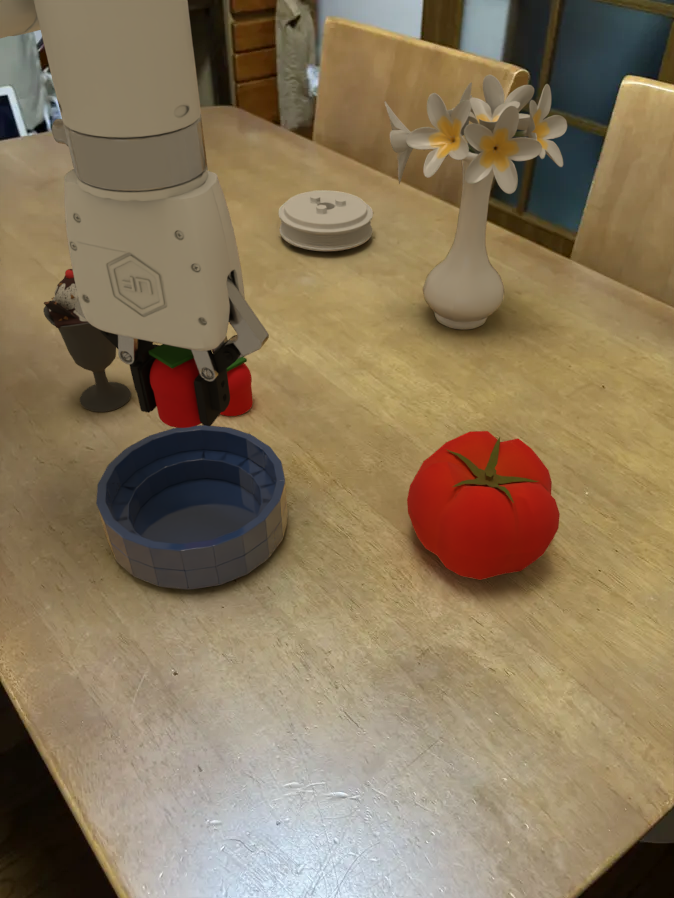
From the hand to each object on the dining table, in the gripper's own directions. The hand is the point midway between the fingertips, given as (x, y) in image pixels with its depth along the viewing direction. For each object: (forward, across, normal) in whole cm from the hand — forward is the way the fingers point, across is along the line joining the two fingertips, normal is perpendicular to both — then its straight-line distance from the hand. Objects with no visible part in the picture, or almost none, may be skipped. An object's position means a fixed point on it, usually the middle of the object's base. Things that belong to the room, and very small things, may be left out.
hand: (184, 406), depth 56 cm
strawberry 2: (+11, -4, +15) cm, 19 cm away
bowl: (+11, 0, -1) cm, 11 cm away
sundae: (+11, -17, +12) cm, 23 cm away
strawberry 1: (+1, 0, 0) cm, 1 cm away
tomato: (+12, +22, +4) cm, 26 cm away
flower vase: (+12, +13, +39) cm, 43 cm away
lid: (+11, -9, +54) cm, 56 cm away
